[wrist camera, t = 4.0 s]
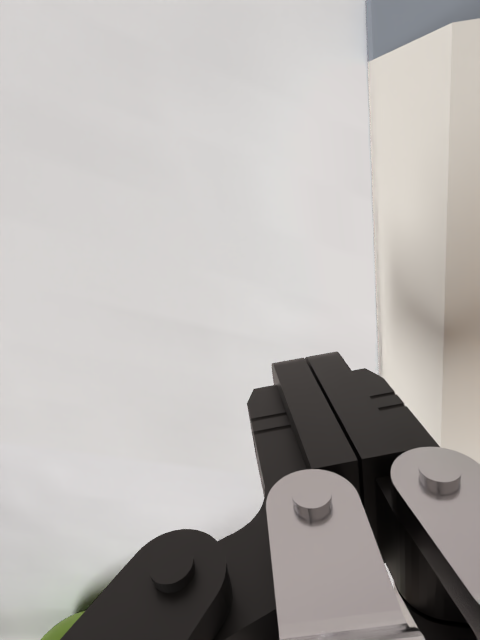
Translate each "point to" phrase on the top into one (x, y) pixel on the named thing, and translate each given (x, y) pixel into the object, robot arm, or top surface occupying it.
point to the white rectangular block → (429, 228)
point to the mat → (411, 21)
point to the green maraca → (61, 627)
